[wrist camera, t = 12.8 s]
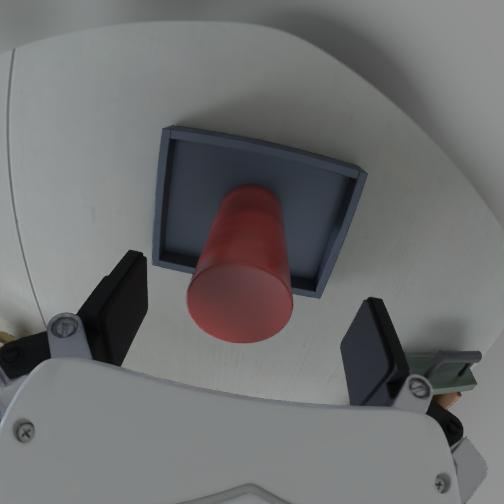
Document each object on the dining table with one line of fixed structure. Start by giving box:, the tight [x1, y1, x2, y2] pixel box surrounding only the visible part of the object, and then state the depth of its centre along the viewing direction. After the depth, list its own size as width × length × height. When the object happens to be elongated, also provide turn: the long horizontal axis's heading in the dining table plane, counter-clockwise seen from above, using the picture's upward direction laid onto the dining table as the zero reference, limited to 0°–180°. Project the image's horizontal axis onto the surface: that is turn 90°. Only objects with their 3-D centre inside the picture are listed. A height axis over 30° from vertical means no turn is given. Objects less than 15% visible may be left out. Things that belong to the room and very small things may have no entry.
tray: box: [152, 125, 368, 299], centre depth 20 cm, size 13×10×2 cm
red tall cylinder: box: [186, 184, 293, 343], centre depth 16 cm, size 4×4×10 cm
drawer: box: [406, 351, 482, 410], centre depth 27 cm, size 16×11×5 cm
